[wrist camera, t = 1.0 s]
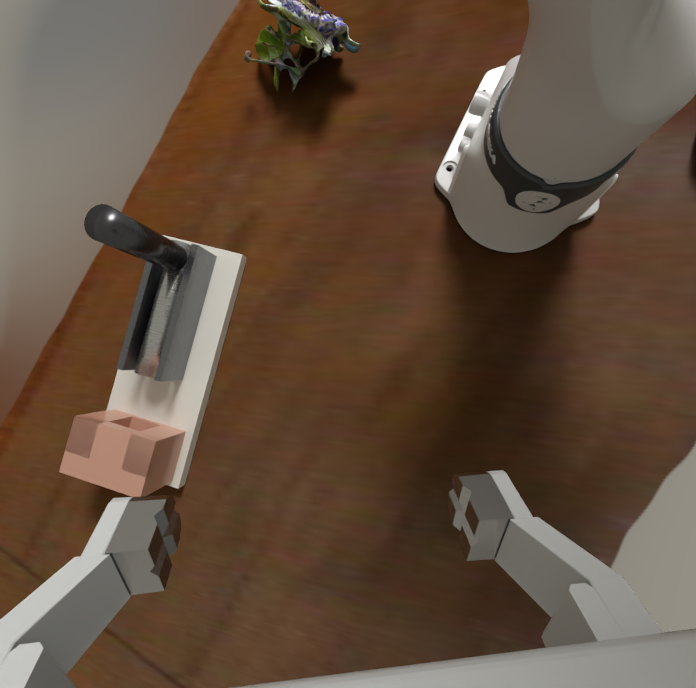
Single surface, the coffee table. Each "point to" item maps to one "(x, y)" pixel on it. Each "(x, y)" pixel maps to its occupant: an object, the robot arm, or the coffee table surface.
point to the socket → (122, 452)
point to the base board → (193, 391)
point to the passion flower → (299, 36)
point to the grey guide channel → (181, 320)
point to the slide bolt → (153, 249)
